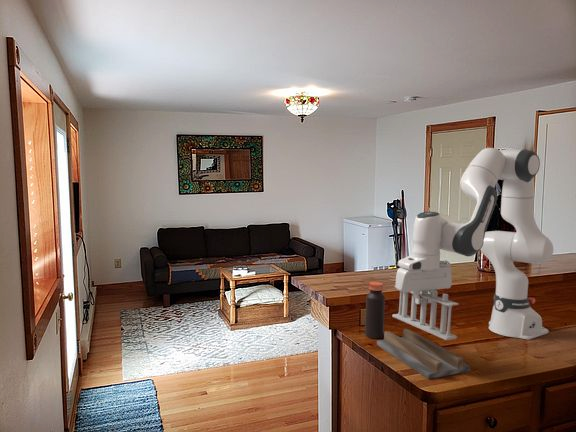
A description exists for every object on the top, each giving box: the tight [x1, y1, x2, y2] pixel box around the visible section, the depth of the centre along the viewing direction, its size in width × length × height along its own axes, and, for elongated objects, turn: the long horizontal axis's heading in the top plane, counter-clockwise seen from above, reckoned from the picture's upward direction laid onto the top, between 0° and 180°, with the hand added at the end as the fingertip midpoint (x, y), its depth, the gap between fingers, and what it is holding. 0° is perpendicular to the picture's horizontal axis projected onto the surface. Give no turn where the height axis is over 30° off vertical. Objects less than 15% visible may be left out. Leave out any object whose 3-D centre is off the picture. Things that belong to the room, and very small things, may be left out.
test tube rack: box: [392, 285, 460, 341], centre depth 151 cm, size 25×4×13 cm, turn 27°
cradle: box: [376, 328, 471, 380], centre depth 153 cm, size 16×28×4 cm, turn 22°
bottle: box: [364, 281, 386, 340], centre depth 171 cm, size 7×7×20 cm
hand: (423, 303), depth 151 cm, fingers closed on test tube rack, 2 cm apart
